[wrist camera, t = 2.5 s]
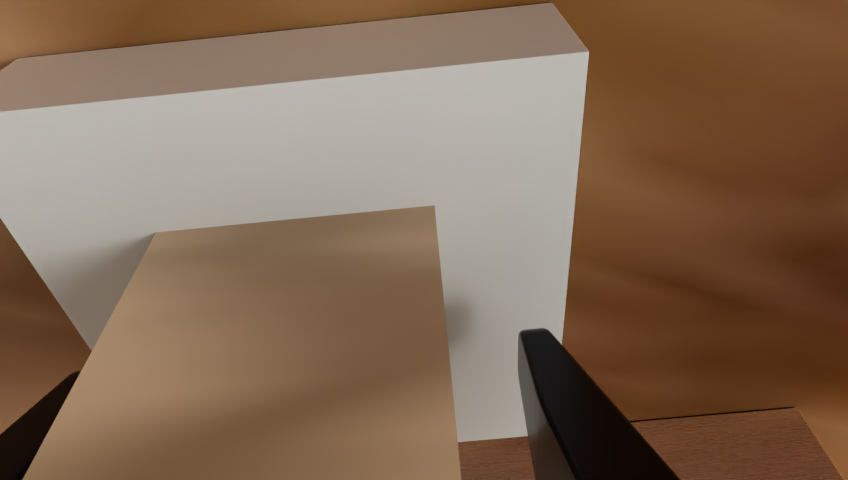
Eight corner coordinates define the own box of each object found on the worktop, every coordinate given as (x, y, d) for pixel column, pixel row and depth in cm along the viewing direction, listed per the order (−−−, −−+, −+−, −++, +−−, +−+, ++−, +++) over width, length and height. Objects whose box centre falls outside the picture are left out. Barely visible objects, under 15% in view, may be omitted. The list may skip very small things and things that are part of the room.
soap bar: (552, 3, 8) (589, 51, 7) (534, 358, 13) (553, 433, 12) (17, 58, 8) (-68, 118, 7) (197, 388, 13) (171, 467, 12)
